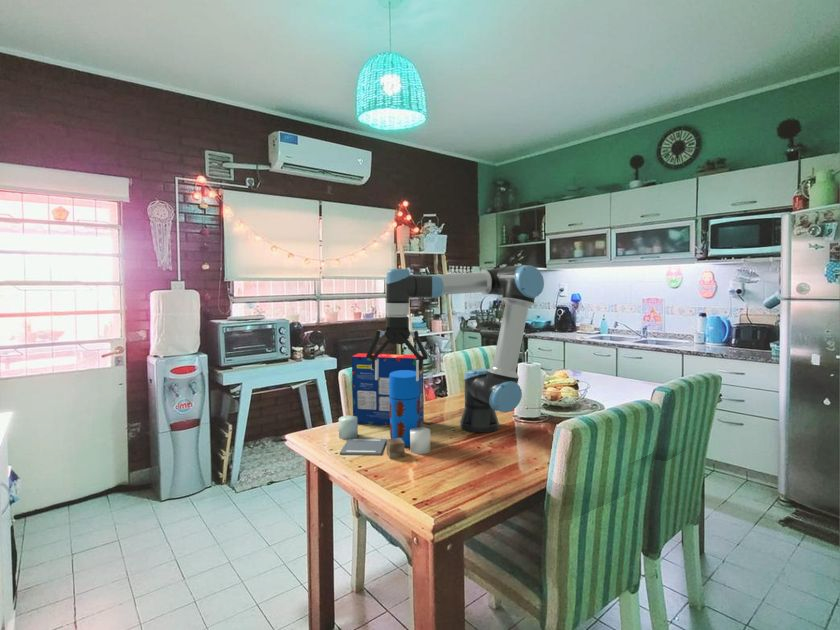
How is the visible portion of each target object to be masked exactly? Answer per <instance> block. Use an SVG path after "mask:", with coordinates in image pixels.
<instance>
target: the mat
mask: <svg viewBox="0 0 840 630" xmlns="http://www.w3.org/2000/svg"><path fill="white" fill-rule="evenodd" d="M386 444H387V438H349V439H348V440H346V442H345V444H344V445H343V447H342V448H341V450H340V451H339V455H345V456H346V455H348V456H351V455H352V456H353V455H355V456H357V455H358V456H361V455H362V456H381V455H382V453H383V450H384V448H385V445H386Z"/></svg>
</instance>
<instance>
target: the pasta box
mask: <svg viewBox="0 0 840 630" xmlns="http://www.w3.org/2000/svg"><path fill="white" fill-rule="evenodd" d="M374 354H375V353H372V355H374ZM366 355H367V353H356V354H354V355H352V356H351V379H352V381H351V387H352V390H351V391H352V416H356V417H357V420H358V425H365V424H371V425H370V426H382V425H390V400H389V374H390V373H391V372H394V371H398V370H411V371H416V361H417V360H418V359H417V358H416V356H415V355H414V354H400V353H399V354H396V353H395V354H394V353H393V354H391V353H380V354H379V356H378V357H377V358H376V359H379V378H378V380H375V370H374V369H372V360H371V359H370V358H367V357H366ZM420 355H421V356H423V355H422V354H420ZM424 394H425V392H424V360H423V361H422V371H419V402H420V426H421V427H422V425H423V424H422V423H424V422H425V420H424V419H425V418H424V417H425V415H424V414H425V412H424V411H425V410H424V409H425V407H424V405H425V403H424V399H425V398H424V397H425V396H424Z"/></svg>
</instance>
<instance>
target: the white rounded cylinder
mask: <svg viewBox="0 0 840 630" xmlns="http://www.w3.org/2000/svg"><path fill="white" fill-rule="evenodd" d="M409 450H410V453H412V454H415V455H425V454H428V453H430V452H431V429H430V428H428V427H422V426H421V427H417V428H412V429H411V430H410V446H409Z"/></svg>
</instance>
